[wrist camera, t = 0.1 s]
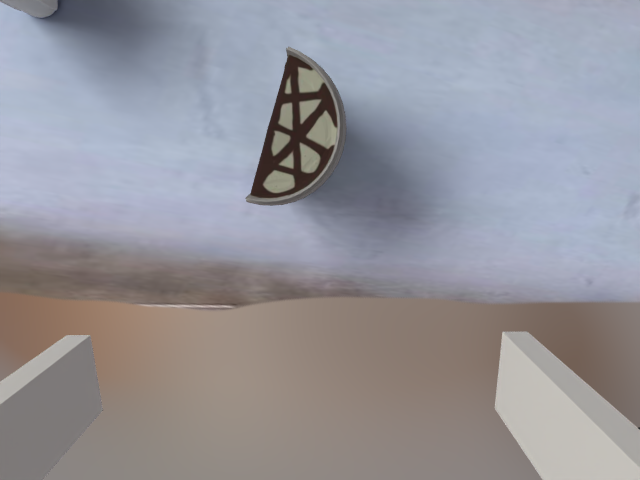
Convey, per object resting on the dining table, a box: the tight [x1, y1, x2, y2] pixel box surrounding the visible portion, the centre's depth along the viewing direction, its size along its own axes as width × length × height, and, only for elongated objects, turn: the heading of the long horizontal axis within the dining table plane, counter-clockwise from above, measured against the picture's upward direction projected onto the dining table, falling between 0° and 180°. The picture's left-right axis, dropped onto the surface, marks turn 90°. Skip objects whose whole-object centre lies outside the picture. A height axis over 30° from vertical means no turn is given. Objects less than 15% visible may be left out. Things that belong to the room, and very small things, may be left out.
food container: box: [245, 47, 346, 206], centre depth 33 cm, size 12×6×10 cm, turn 162°
